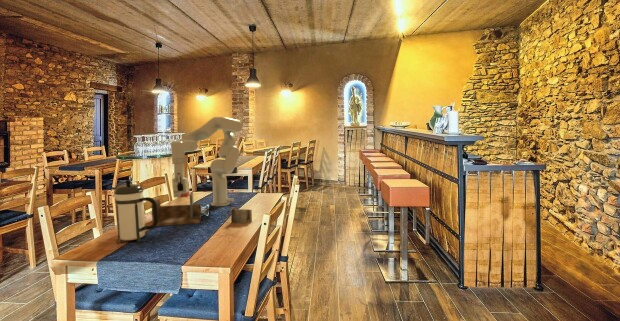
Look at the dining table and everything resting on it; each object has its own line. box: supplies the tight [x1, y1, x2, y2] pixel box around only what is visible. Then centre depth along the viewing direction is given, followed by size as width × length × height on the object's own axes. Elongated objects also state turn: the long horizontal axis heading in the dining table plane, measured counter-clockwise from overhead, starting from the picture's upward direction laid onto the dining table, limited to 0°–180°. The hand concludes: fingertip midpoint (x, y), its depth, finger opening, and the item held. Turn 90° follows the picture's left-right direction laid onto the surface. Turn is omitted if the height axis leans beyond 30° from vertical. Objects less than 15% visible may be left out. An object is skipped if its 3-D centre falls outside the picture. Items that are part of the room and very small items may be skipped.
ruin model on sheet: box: [230, 206, 253, 224], centre depth 204 cm, size 11×3×10 cm, turn 83°
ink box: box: [171, 177, 190, 199], centre depth 223 cm, size 9×5×12 cm, turn 86°
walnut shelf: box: [151, 198, 202, 227], centre depth 208 cm, size 25×16×12 cm, turn 104°
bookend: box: [189, 191, 202, 219], centre depth 210 cm, size 5×9×14 cm, turn 14°
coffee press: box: [111, 179, 158, 244], centre depth 175 cm, size 17×16×30 cm
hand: (181, 189), depth 223 cm, fingers closed on ink box, 6 cm apart
